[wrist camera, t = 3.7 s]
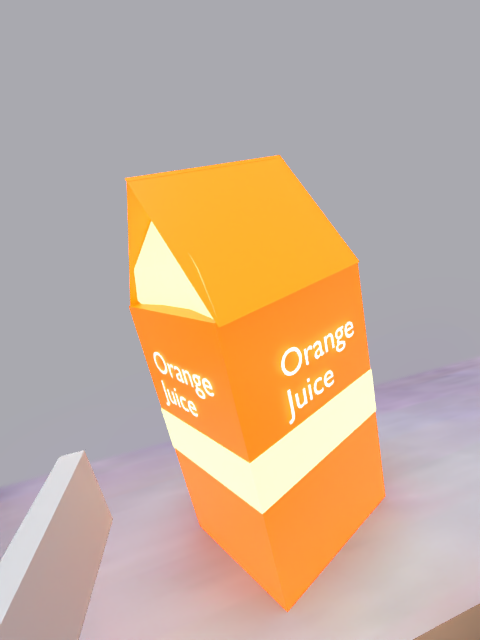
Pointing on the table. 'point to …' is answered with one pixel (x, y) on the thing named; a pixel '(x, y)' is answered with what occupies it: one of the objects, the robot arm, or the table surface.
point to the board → (457, 627)
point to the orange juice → (257, 362)
